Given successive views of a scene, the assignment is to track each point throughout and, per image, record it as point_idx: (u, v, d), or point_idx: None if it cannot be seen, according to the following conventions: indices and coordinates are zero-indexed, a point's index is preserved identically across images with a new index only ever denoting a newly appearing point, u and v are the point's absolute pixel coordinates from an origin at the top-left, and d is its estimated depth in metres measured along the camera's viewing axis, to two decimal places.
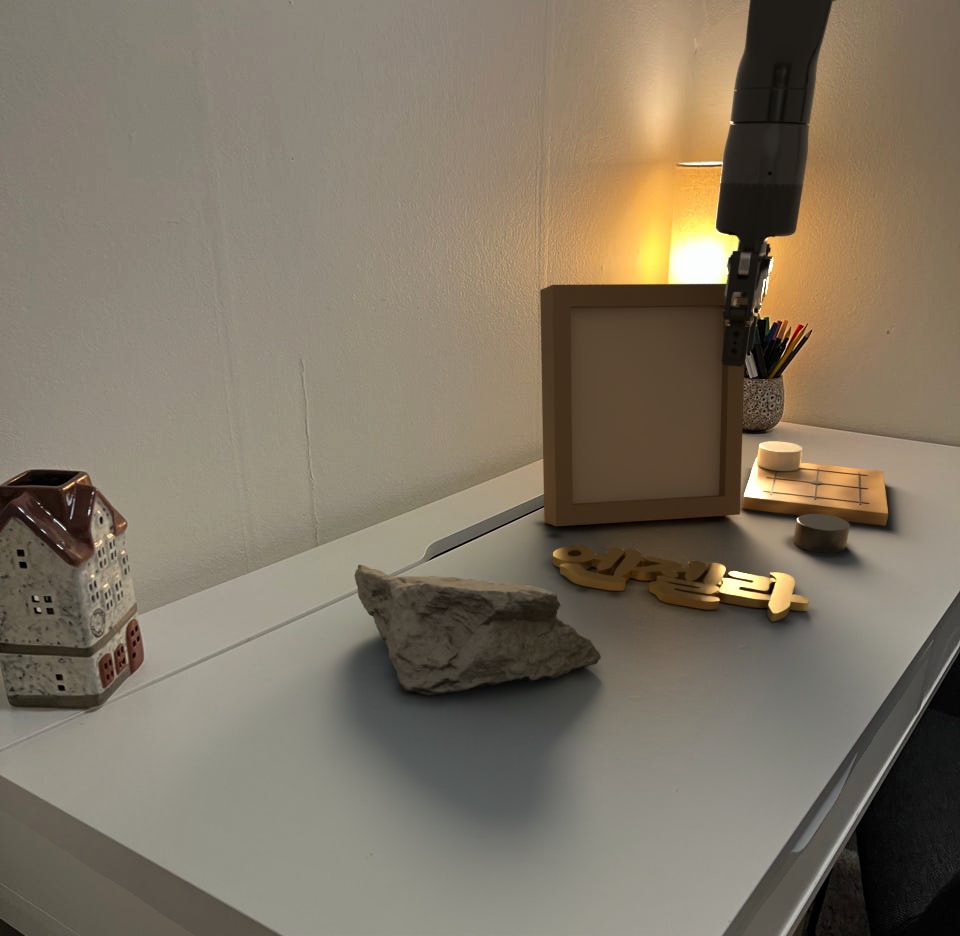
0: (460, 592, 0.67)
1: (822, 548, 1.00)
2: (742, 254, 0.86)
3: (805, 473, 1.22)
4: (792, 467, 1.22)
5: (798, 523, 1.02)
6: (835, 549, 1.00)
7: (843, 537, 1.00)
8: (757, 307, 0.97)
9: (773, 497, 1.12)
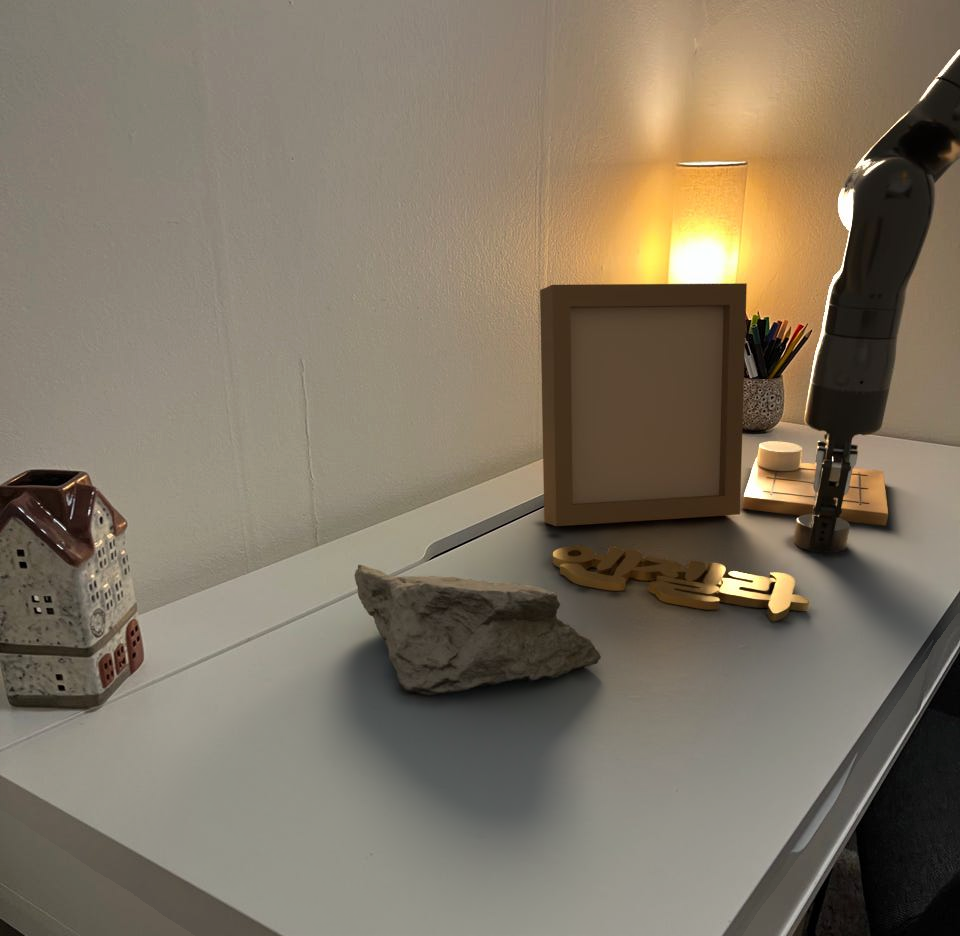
0: (460, 592, 0.67)
1: None
2: (833, 465, 0.93)
3: (805, 473, 1.22)
4: (792, 467, 1.22)
5: (798, 523, 1.02)
6: (835, 549, 1.00)
7: (843, 537, 1.00)
8: None
9: (773, 497, 1.12)
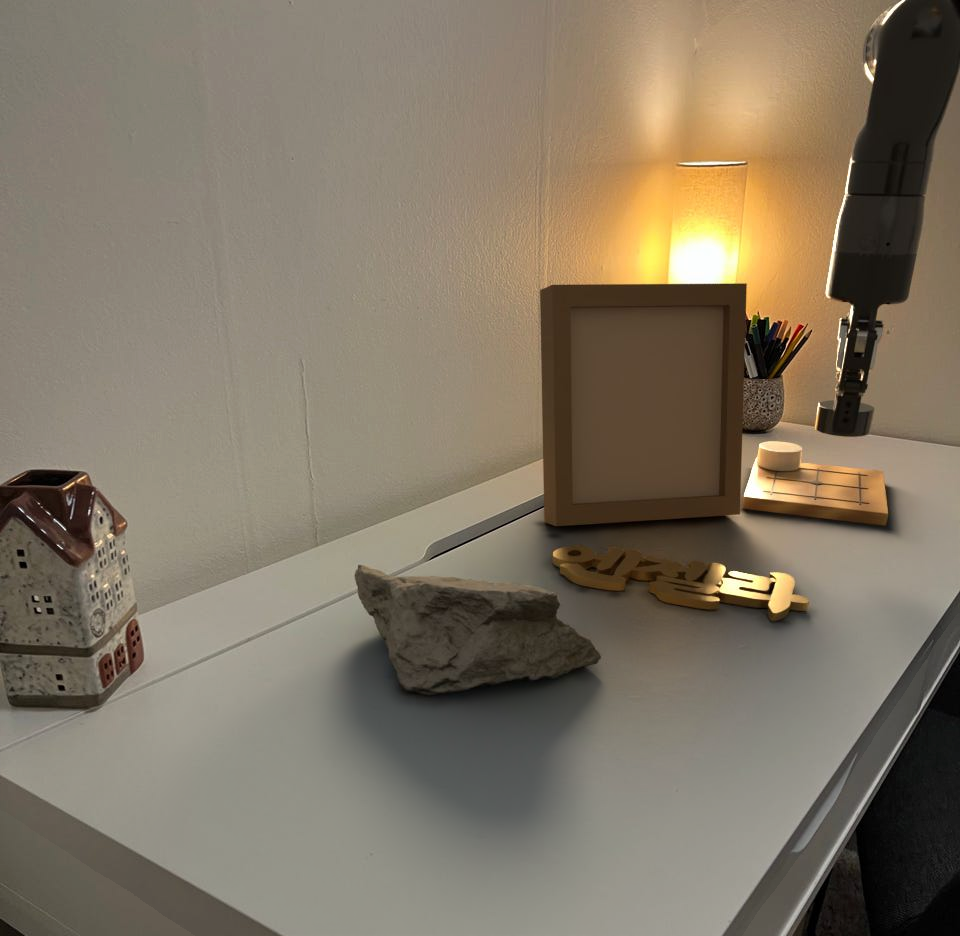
0: (460, 592, 0.67)
1: None
2: (858, 334, 0.88)
3: (805, 473, 1.22)
4: (792, 467, 1.22)
5: (820, 407, 0.97)
6: (859, 433, 0.95)
7: (868, 420, 0.95)
8: (861, 377, 0.98)
9: (773, 497, 1.12)
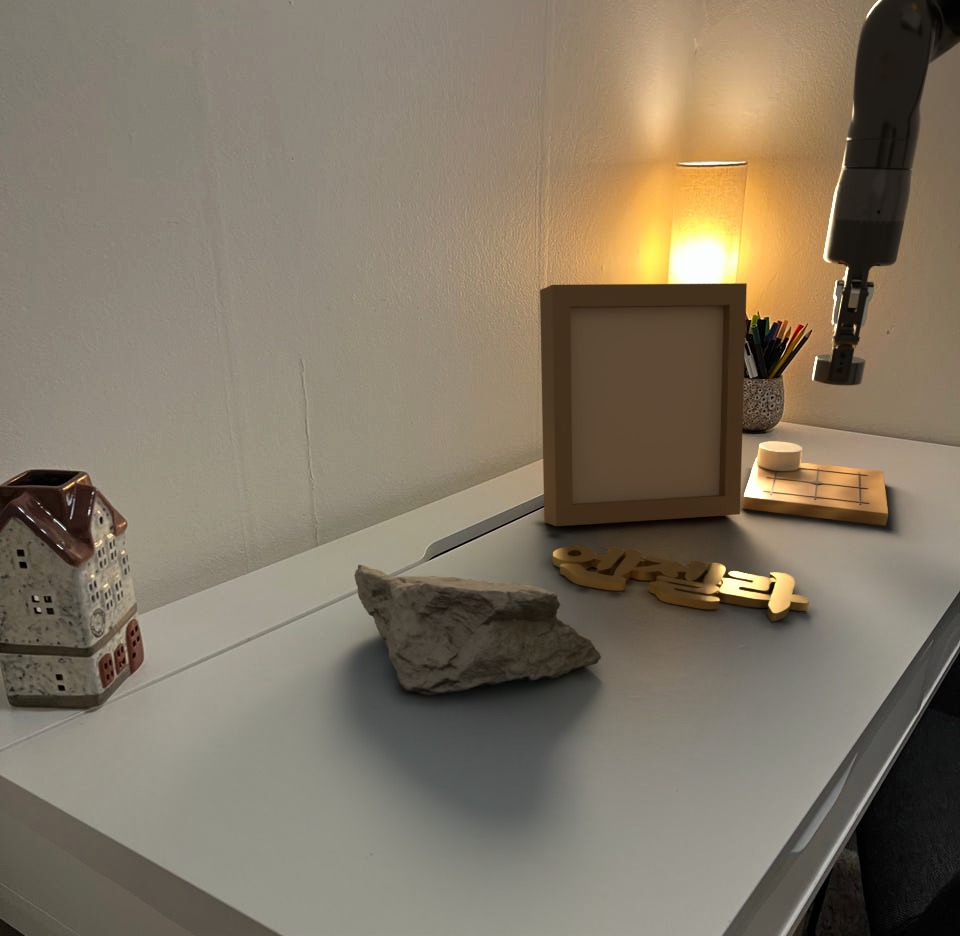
0: (460, 592, 0.67)
1: None
2: (852, 291, 1.00)
3: (805, 473, 1.22)
4: (792, 467, 1.22)
5: (817, 359, 1.09)
6: (852, 382, 1.07)
7: (860, 371, 1.07)
8: None
9: (773, 497, 1.12)
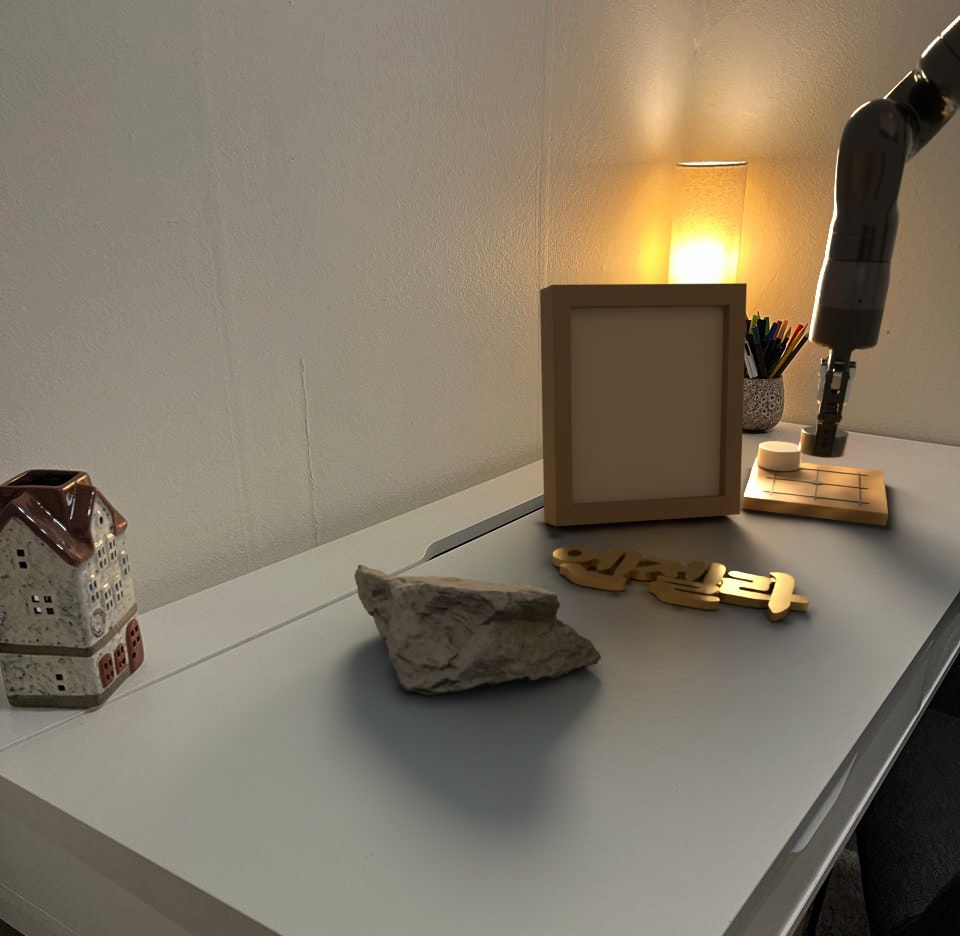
0: (460, 592, 0.67)
1: None
2: (834, 374, 1.06)
3: (805, 473, 1.22)
4: (792, 467, 1.22)
5: (803, 432, 1.15)
6: (836, 454, 1.14)
7: (843, 444, 1.14)
8: None
9: (773, 497, 1.12)
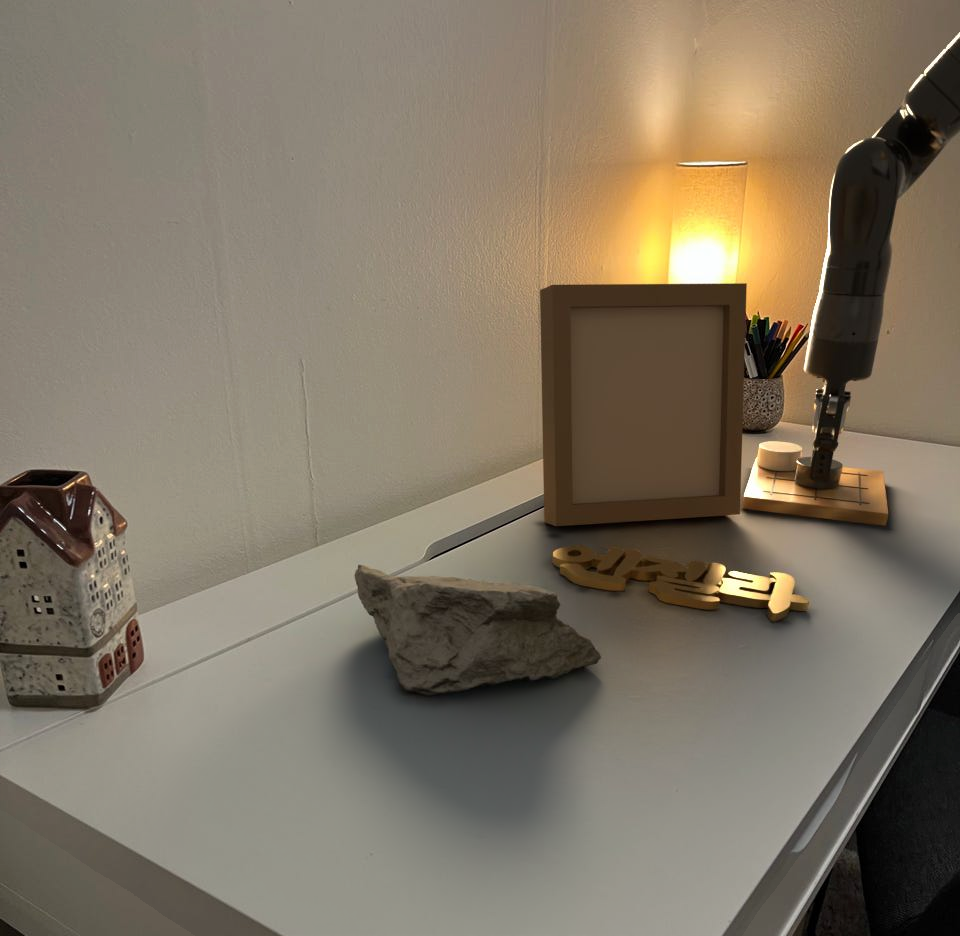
0: (460, 592, 0.67)
1: (818, 485, 1.15)
2: (831, 398, 1.07)
3: None
4: (792, 467, 1.22)
5: (797, 463, 1.17)
6: (830, 485, 1.15)
7: (837, 475, 1.15)
8: None
9: (773, 497, 1.12)
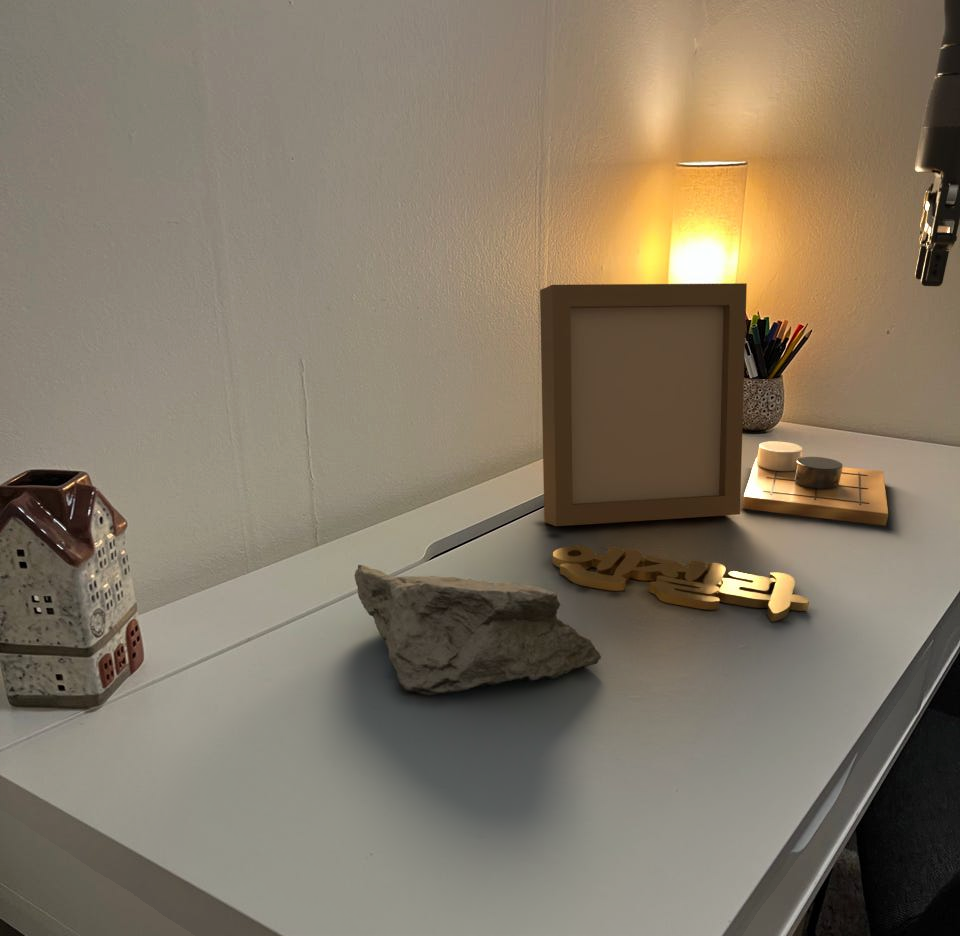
0: (460, 592, 0.67)
1: (818, 485, 1.15)
2: (950, 186, 1.01)
3: None
4: (792, 467, 1.22)
5: (797, 463, 1.17)
6: (830, 485, 1.15)
7: (837, 475, 1.15)
8: None
9: (773, 497, 1.12)
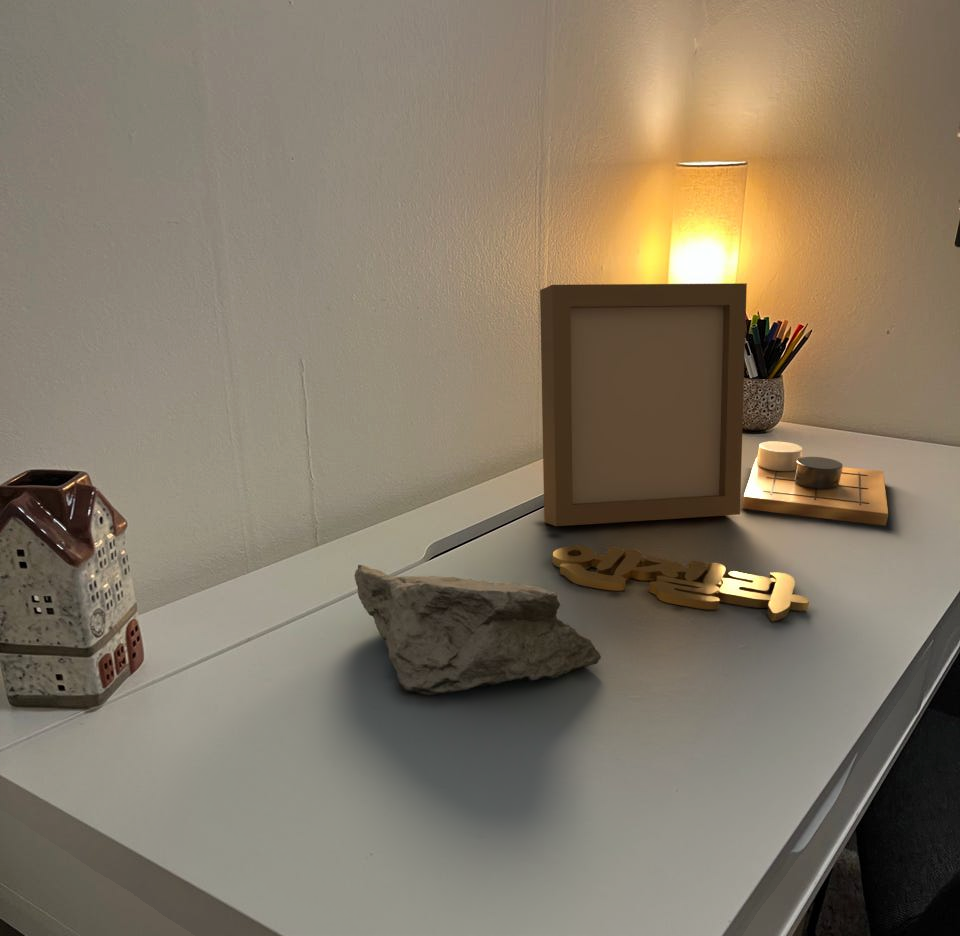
0: (460, 592, 0.67)
1: (818, 485, 1.15)
2: None
3: None
4: (792, 467, 1.22)
5: (797, 463, 1.17)
6: (830, 485, 1.15)
7: (837, 475, 1.15)
8: None
9: (773, 497, 1.12)
